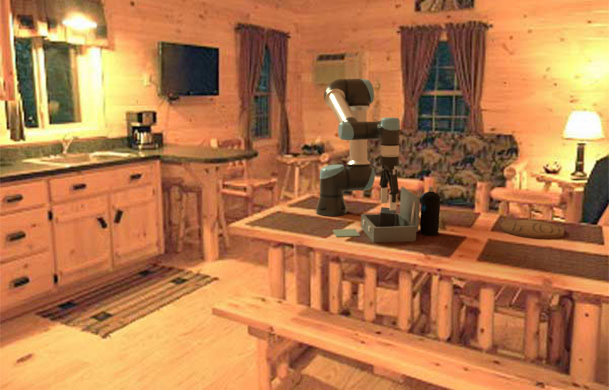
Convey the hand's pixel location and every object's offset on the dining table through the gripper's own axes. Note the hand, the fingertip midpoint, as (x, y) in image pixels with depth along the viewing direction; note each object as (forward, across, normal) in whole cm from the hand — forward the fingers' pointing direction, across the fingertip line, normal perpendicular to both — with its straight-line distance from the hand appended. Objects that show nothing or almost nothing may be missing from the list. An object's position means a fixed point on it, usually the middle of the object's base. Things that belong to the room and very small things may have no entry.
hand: (388, 206), depth 213 cm
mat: (+12, -4, -17) cm, 21 cm away
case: (+12, 0, 0) cm, 12 cm away
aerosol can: (+12, 0, +18) cm, 22 cm away
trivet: (+13, +2, +63) cm, 64 cm away
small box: (+12, -1, 0) cm, 12 cm away
